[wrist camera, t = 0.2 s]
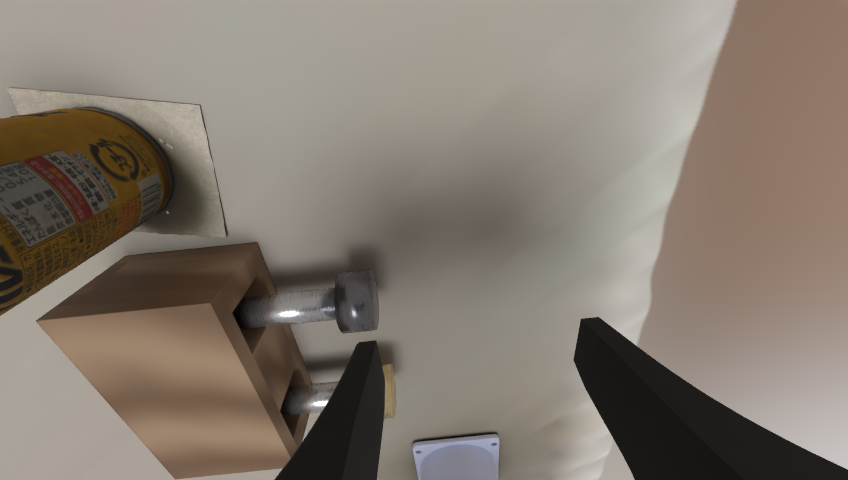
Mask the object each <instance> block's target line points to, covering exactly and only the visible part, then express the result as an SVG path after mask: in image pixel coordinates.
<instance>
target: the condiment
mask: <svg viewBox="0 0 848 480" xmlns="http://www.w3.org/2000/svg"><path fill="white" fill-rule="evenodd" d="M6 89H7V91H8V93H9V95H10V96H11V99H12V101H13V103H14V105H15V108H16V109H17V112H18V114H19V115H18V116H12V117H10V118H4V119H0V316H1V315H2V314H4V313H5V312H7V311H8V310H10V309H12V308H13V307H15V306H16V305H18V304H20V303H21V302H23V301H24V300H26V299H27V298H29V297H30V296H32V295H34V294H35V293H37V292H38V291H40V290H41V289H42V288H44V287H46V286H47V285H49V284H51V283H52V282H53V281H55V280H56V279H58V278H59V277H61V276H63V275H64V274H66V273H68V272H69V271H71V270H73V269H74V268H76V267H77V266H78V265H80V264H81V263H83V262H85V261H86V260H88V259H89V258H91V257H92V256H94V255H95V254H97V253H99V252H100V251H102V250H104V249H105V248H106V247H108V246H109V245H111V244H112V243H114V242H115V241H117V240H118V239H120V238H122V237H123V236H125V235H126V234H128V233H129V232H131V231H135V232H137V231H142V232H150V233H159V234H179V235H198V236H205V237H222V238H226V232H225V227H224V218H223V214H222V208H221V204H220V199H219V192H218V187H217V182H216V178H215V174H214V166H213V162H212V159H211V156H210V152H209V147H208V141H207V135H206V131H205V128H204V124H203V120H202V115H201V110H200V105H192V104H180V103H171V102H157V101H146V100H136V99H126V98H116V97H106V96H96V95H85V94H74V93H63V92H53V91H40V90H30V89H18V88H6ZM158 138H161V139H162V140H163V141H164V143H161V142H160V141H159V140H158ZM166 143H168V144H170V145H171V146H173V150H172V149H170V148H169V147H168V146H167V145H166ZM166 211H169V214H167V213H166Z"/></svg>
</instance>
